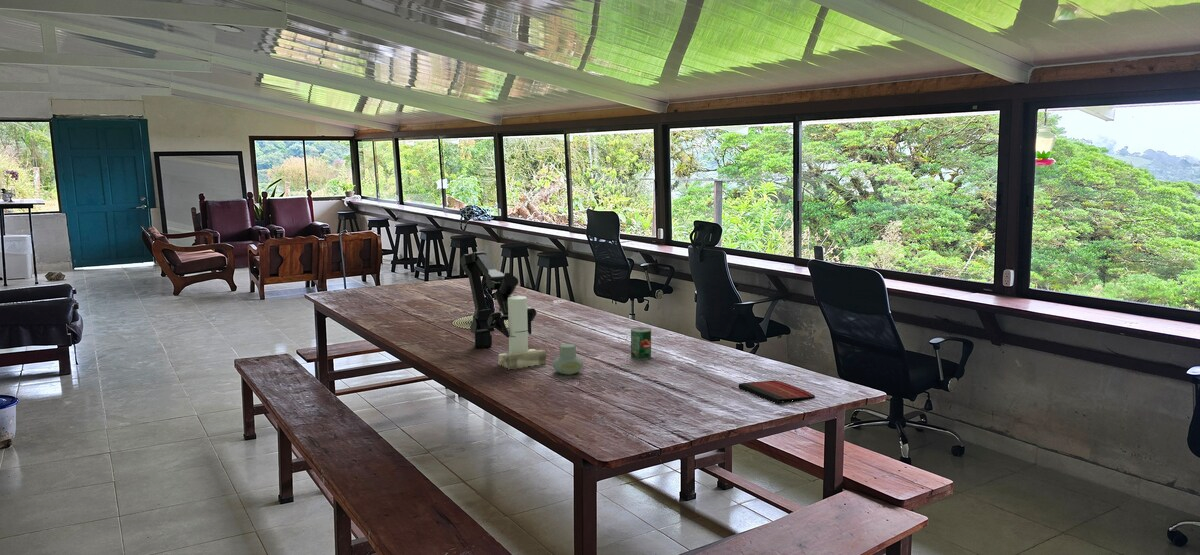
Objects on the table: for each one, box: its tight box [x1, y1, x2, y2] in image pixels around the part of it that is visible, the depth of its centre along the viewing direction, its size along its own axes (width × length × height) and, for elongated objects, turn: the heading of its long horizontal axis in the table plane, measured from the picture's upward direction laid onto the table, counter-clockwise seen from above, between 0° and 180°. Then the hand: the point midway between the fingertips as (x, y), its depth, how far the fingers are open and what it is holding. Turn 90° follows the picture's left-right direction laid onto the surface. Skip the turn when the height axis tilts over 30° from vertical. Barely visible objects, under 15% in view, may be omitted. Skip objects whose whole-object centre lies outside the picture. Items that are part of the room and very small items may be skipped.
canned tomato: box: [630, 326, 652, 360], centre depth 316 cm, size 8×8×11 cm
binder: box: [738, 380, 816, 405], centre depth 269 cm, size 16×2×21 cm
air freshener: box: [552, 343, 584, 376], centre depth 295 cm, size 11×8×10 cm
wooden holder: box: [497, 348, 547, 370], centre depth 308 cm, size 10×15×5 cm, turn 123°
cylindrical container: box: [507, 295, 529, 354], centre depth 308 cm, size 7×7×25 cm
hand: (519, 335), depth 308 cm, fingers open, 9 cm apart
